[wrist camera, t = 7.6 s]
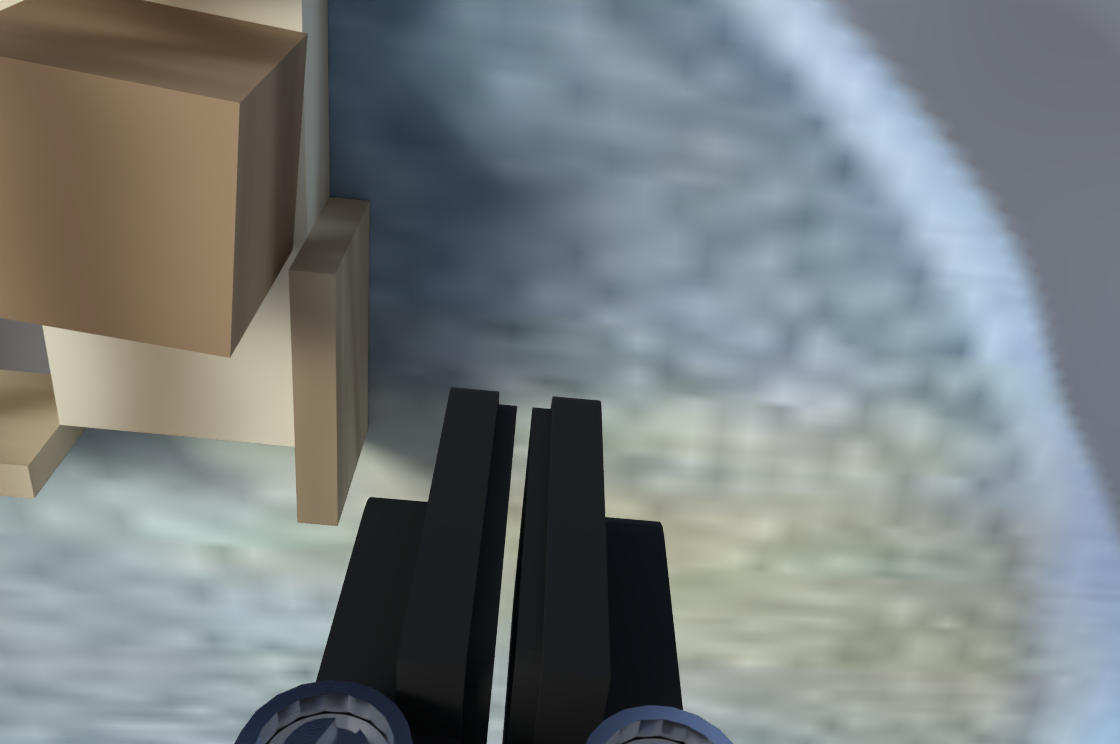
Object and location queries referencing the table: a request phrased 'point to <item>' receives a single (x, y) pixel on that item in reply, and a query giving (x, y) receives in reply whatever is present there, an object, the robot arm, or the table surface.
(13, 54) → the block
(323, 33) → the tray
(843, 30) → the table surface
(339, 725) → the robot arm
